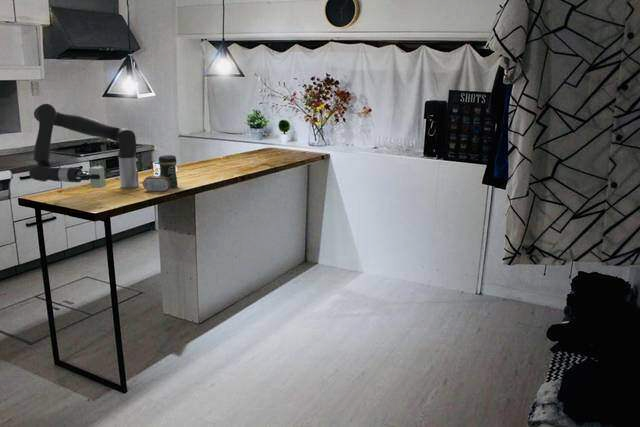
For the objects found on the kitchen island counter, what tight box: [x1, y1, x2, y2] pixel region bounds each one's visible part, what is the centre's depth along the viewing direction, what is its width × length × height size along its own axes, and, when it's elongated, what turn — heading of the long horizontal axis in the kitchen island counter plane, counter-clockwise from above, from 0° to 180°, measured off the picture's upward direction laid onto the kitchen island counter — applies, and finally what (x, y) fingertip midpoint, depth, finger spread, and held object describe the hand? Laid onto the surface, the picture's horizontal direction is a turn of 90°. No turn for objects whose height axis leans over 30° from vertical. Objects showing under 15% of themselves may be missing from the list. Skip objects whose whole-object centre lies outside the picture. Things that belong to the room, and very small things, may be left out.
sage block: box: [88, 166, 107, 189], centre depth 268 cm, size 5×5×10 cm
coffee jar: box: [158, 154, 178, 189], centre depth 306 cm, size 10×8×19 cm
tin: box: [142, 175, 171, 193], centre depth 296 cm, size 15×3×8 cm, turn 92°
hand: (102, 175), depth 268 cm, fingers closed on sage block, 5 cm apart
